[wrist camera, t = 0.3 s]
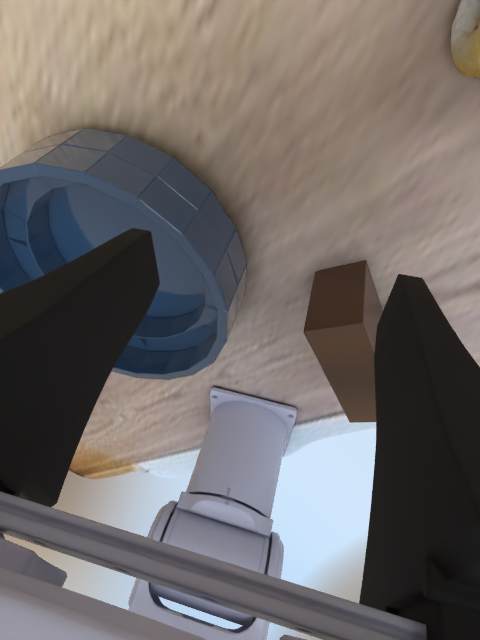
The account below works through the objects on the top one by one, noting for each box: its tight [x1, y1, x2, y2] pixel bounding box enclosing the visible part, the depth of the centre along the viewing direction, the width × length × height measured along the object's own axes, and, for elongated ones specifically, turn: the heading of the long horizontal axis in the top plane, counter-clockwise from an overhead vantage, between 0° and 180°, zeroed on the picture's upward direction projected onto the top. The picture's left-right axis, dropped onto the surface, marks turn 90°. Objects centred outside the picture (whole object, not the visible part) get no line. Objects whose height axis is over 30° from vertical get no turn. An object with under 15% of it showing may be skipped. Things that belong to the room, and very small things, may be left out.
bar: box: [304, 261, 383, 422], centre depth 23 cm, size 8×3×5 cm, turn 27°
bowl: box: [0, 128, 247, 380], centre depth 23 cm, size 15×15×5 cm
